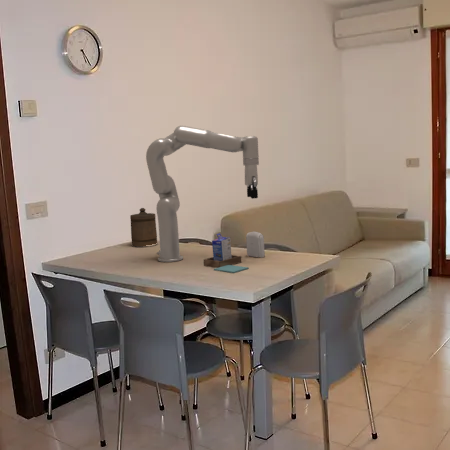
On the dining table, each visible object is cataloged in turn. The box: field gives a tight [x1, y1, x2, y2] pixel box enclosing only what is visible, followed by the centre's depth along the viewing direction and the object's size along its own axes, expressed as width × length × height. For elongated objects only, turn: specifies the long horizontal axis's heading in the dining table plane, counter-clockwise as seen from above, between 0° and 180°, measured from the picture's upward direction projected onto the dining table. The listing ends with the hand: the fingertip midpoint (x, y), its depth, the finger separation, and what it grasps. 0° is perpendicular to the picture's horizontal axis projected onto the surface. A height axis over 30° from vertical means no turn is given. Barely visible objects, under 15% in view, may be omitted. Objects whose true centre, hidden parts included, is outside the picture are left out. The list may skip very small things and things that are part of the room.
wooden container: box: [129, 207, 158, 247], centre depth 326 cm, size 15×15×22 cm
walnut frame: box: [203, 254, 242, 268], centre depth 261 cm, size 11×15×3 cm
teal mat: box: [213, 264, 249, 274], centre depth 248 cm, size 12×10×1 cm
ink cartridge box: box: [211, 232, 233, 261], centre depth 260 cm, size 10×6×14 cm, turn 155°
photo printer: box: [245, 231, 266, 258], centre depth 275 cm, size 10×4×12 cm, turn 39°
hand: (252, 197), depth 270 cm, fingers open, 9 cm apart
